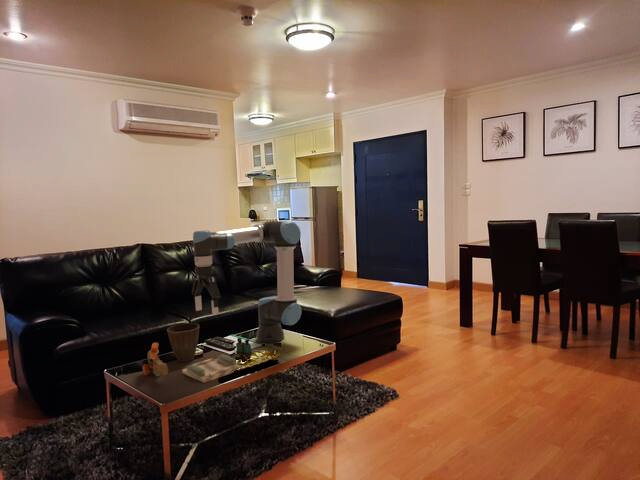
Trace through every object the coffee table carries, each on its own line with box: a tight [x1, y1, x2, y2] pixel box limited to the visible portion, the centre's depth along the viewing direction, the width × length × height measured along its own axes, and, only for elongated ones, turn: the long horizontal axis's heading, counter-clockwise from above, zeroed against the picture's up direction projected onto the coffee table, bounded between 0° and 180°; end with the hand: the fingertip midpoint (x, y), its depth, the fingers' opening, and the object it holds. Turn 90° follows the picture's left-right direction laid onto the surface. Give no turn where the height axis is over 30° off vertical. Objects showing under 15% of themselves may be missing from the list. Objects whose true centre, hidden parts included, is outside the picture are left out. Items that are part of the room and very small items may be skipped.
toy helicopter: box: [141, 342, 169, 378], centre depth 193 cm, size 8×21×14 cm, turn 39°
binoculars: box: [229, 337, 253, 362], centre depth 208 cm, size 9×11×10 cm
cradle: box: [181, 354, 242, 384], centre depth 198 cm, size 19×18×4 cm
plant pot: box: [166, 322, 200, 363], centre depth 214 cm, size 15×15×16 cm
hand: (207, 312), depth 198 cm, fingers open, 13 cm apart
